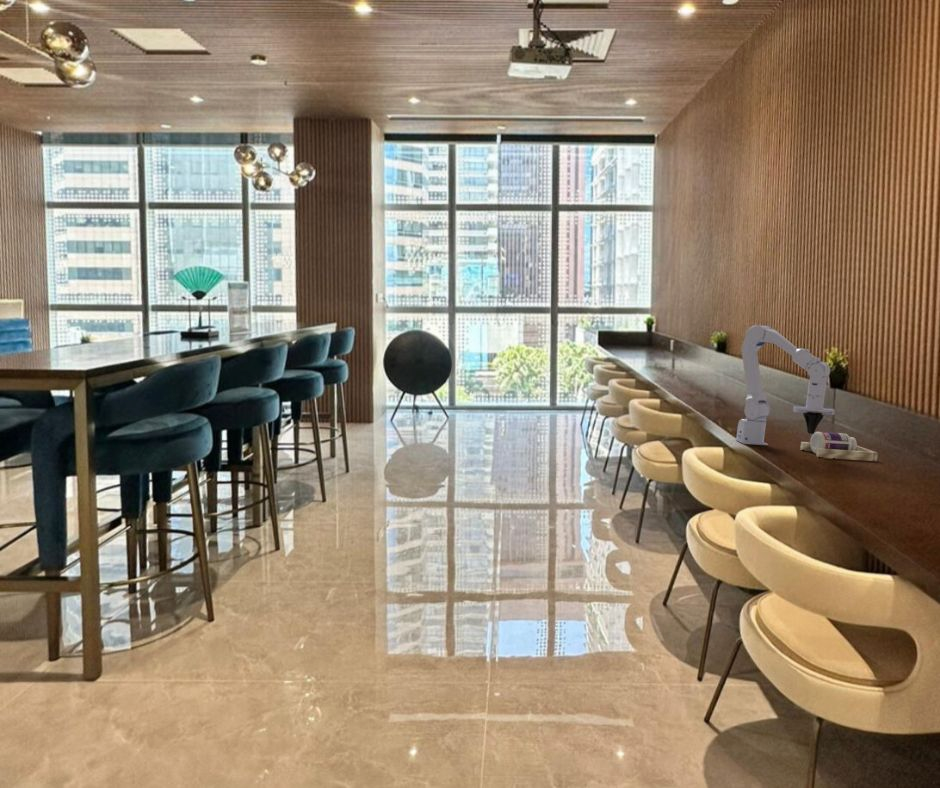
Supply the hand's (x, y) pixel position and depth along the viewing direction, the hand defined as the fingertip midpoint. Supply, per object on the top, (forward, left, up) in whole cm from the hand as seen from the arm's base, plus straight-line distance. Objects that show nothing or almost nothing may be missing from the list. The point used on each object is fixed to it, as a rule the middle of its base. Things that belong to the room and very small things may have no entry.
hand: (810, 433), depth 281 cm
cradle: (+10, 0, -7) cm, 13 cm away
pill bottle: (+2, 0, -3) cm, 4 cm away
